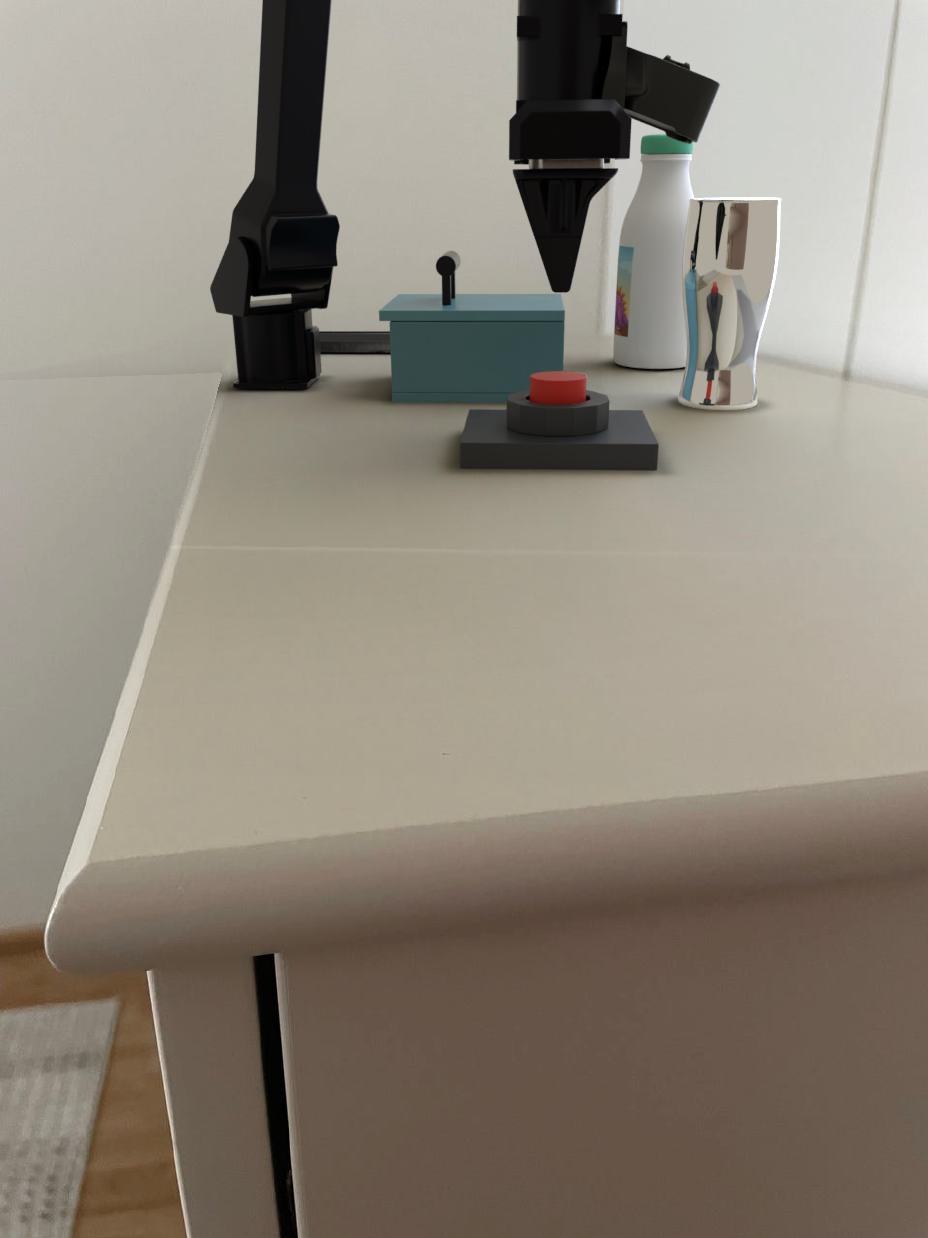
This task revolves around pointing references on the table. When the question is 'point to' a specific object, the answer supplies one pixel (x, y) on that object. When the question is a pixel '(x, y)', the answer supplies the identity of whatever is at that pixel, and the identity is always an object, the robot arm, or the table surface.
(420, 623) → the table surface
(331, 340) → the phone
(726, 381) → the beer glass
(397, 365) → the teal rectangular box
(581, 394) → the power button
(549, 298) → the lid
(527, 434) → the control box
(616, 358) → the milk bottle
